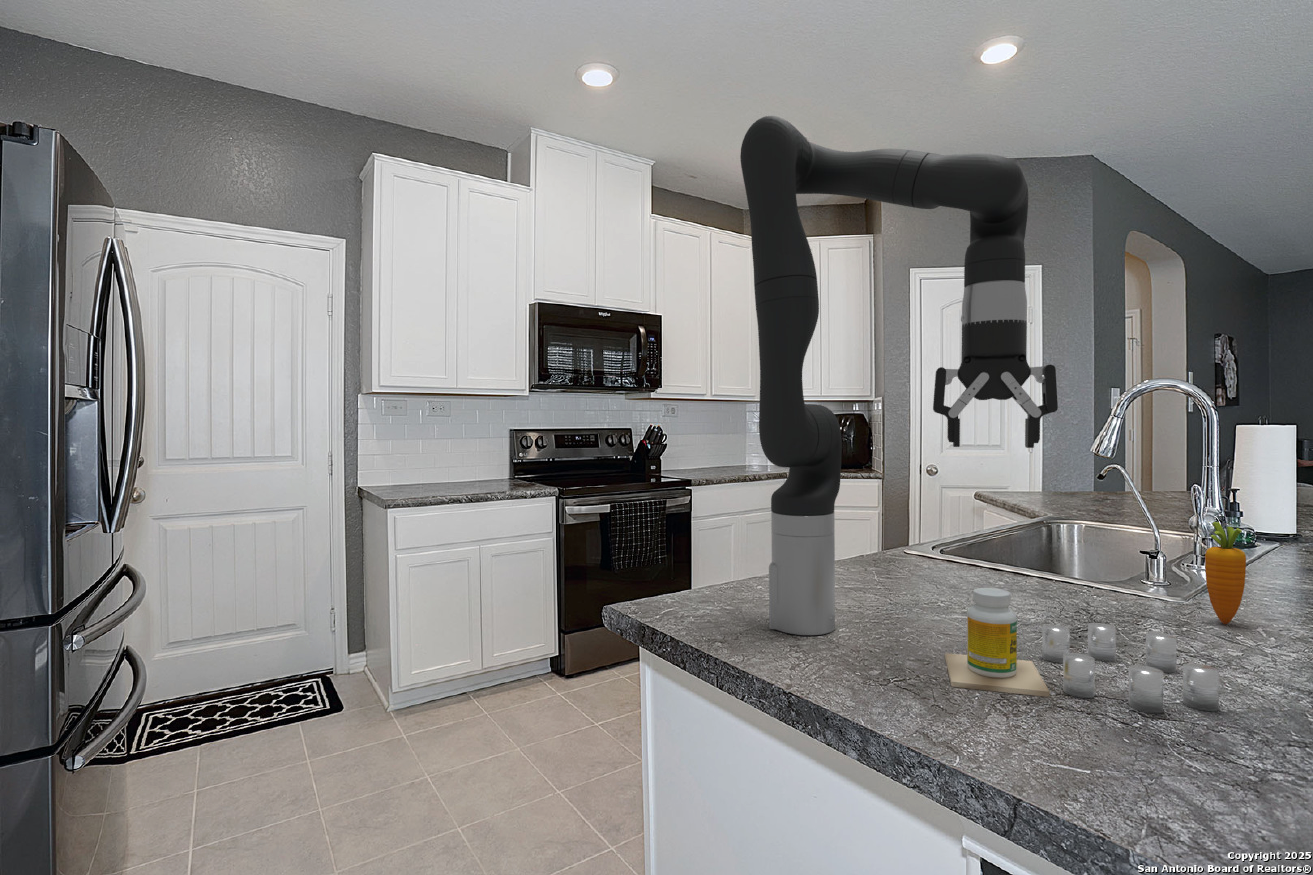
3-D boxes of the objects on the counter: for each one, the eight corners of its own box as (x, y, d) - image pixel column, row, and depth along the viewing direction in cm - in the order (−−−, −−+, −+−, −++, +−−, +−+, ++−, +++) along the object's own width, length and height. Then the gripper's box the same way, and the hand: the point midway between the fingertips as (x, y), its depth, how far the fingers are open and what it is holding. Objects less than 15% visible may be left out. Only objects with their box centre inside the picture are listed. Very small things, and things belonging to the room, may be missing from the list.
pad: (951, 686, 78) (951, 681, 78) (944, 657, 88) (944, 652, 88) (1049, 697, 75) (1049, 691, 75) (1032, 665, 85) (1031, 660, 85)
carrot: (1254, 630, 97) (1254, 526, 97) (1212, 627, 99) (1212, 525, 98) (1237, 620, 102) (1237, 521, 101) (1197, 618, 103) (1197, 520, 103)
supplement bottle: (966, 660, 85) (966, 584, 85) (1014, 666, 83) (1014, 587, 83) (967, 675, 80) (967, 594, 80) (1019, 681, 78) (1019, 598, 78)
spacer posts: (1072, 704, 73) (1072, 667, 73) (1036, 647, 91) (1036, 618, 91) (1234, 722, 68) (1235, 682, 68) (1163, 658, 86) (1163, 627, 86)
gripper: (935, 320, 86) (934, 448, 87) (1063, 314, 81) (1061, 449, 82) (932, 327, 93) (932, 445, 94) (1050, 322, 88) (1049, 446, 89)
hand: (992, 447), depth 88 cm, fingers open, 8 cm apart
